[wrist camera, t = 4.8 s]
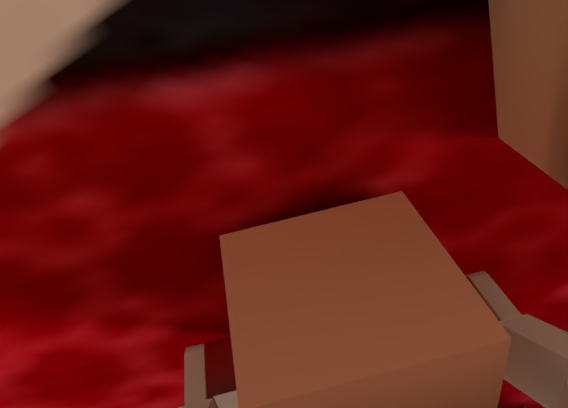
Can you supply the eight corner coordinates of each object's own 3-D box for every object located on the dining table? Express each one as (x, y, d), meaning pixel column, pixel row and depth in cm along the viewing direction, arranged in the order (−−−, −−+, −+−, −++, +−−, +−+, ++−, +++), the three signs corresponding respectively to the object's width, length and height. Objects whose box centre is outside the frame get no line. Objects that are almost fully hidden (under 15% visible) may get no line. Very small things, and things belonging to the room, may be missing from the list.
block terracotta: (402, 190, 12) (511, 337, 8) (403, 314, 15) (485, 468, 11) (219, 235, 12) (239, 411, 8) (256, 352, 15) (284, 525, 11)
